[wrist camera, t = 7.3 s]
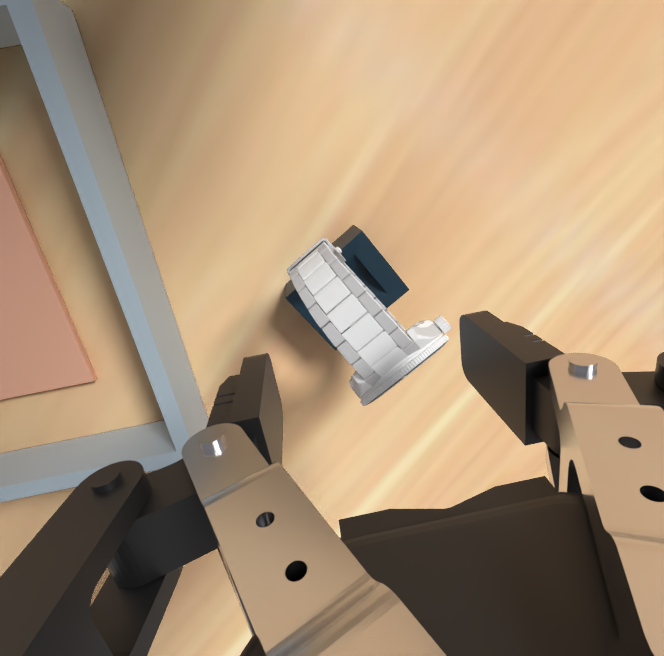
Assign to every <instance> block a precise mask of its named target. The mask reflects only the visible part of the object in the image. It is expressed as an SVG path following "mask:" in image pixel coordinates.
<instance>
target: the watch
mask: <svg viewBox="0 0 664 656" xmlns="http://www.w3.org/2000/svg"><path fill="white" fill-rule="evenodd" d="M287 273H288V274H289V275H290V279H291V280H290V281H289V282H288V283H287V284H286V296H285V298H286V299H287V300H288V301H289V302H290V303H291V304H292V305H293V306H294V307H295V308H296V310H297V311H298V312H299V313H300V314H301V315H302V316H303V317H304V318H305V319H306V320H307V321H308V322H309V323H310V324H311V325H312V326H313V327H314V328H315V329H316V331H317V332H318V333H319V334H320V335H321V336H322V337H323V338H324V339H325V340H326V341H327V342H328V343H329V344H330V345H331V346H332V347H333V348H334V349H335V350H337V349H338V350H339V352H340V353H341V354H342V355H343V356H344V358H345V359H346V360H347V361H348V362H349V363H350V365H351V364H352V366H353V367H354V369H355V370H356V372H355V373H354V374H353V375H352V376H351V377H352V378H351V380H350V385H351V388H352V389H353V391H354V392H355V393H356V395H357V396H358V397H359V398H360V399H361V401H360V402H361V404H362V405H363V406H365V405H367V404H369V403H371V402H373V401H375V400H376V399H378V398H379V397H380V396H382V395H383V394H384V393H386V392H387V391H388V390H390V389H391V388H392V387H394V386H395V385H396V384H397V383H399V382H400V381H401V380H403V379H404V378H405V377H406V376H408V375H409V374H410V373H412V372H413V371H414V370H415V369H417V368H418V367H419V366H420V365H422V364H423V363H424V362H425V361H427V360H428V359H429V358H430V357H431V356H433V355H434V354H435V353H436V352H437V351H439V350H440V349H441V348H442V347H443V345H444V344H445V343H446V342H447V341H448V339H449V338H448V337H447V335H443V334H442V332H443V333H444V334H445V333H447V332H448V331H449V330H451V327H450V325H449V324H448V322H447V321H446V320H445V319H444V318H443V317H442V316H439V317H438V318H436V319H435V320H434V323H435V324H434V323H433V322H431V321H430V320H425V321H421V322H418V323H416V324H415V325H413V326H412V327H410V328H409V329H407V330H405V329H404V328H403V327H402V326H401V325H400V324H399V322H398V321H397V320H396V319H395V318H394V316H393V315H392V314H391V313H390V312H389V311H388V310H387V308H388V307H389V306H390V305H391V304H393V303H394V302H395V301H396V300H397V299H399V298H400V297H401V296H402V295H403V294H405V293H406V292H407V291H408V290H409V289H408V287H407V286H406V285H405V284H404V282H403V281H402V280H401V279H400V277H399V276H398V275H397V274H396V272H395V271H394V270H393V269H392V267H391V266H390V265H389V264H388V262H387V261H386V260H385V259H384V258H383V256H382V255H381V254H380V253H379V251H378V250H377V249H376V248H375V246H374V245H373V244H372V243H371V241H370V240H369V239H368V238H367V236H366V235H365V234H364V233H363V231H361V230H360V229H359V228H357V227H356V226H354V225H353V226H352V227H350V228H349V229H348V230H347V231H346V232H345V233H344V234H342V235H341V236H340V237H339V238H338V239H337V240H336V241H334V242H333V243H332V244H331V243H330V242H329V241H328V240H327V239H326V238H322V239H321V240H320V241H318V242H317V243H316V244H315V245H314V246H313V247H311V248H310V249H309V250H308V251H307V252H306V253H305V254H303V255H302V256H301V257H300V258H299V259H298V260H297V261H296V262H295V263H294V264H292V265H291V266H290V267H289V268H288V269H287Z"/></svg>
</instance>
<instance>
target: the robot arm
mask: <svg viewBox="0 0 664 656" xmlns="http://www.w3.org/2000/svg"><path fill="white" fill-rule="evenodd" d="M460 342H461V360H462V367H463V371H464V374H465V376H466V378H467V380H468V381H469V382H470V383H471V384H472V386H473V387H474V388H475V389H476V390H477V391H478V392H479V394H480V395H481V396H482V397H483V398H484V399H485V400H486V402H487V403H488V404H489V405H490V406H491V407H492V408H493V410H494V411H495V412H496V413H497V414H498V415H499V416H500V417H501V419H502V420H503V421H504V422H505V423H506V424H507V425H508V427H509V428H510V429H511V430H512V431H513V432H514V433H515V435H516V436H517V437H518V438H519V439H520V440H521V441H522V442H523V444H524V445H530V444H535V443H539V442H545V443H546V463H547V469H548V474H549V480H550V482H549V480H548V479H547V478H546V477H545V476H543V477H538V478H534V479H529V480H524V481H519V482H515V483H510V484H505V485H501V486H496V487H493V488H491V489H489V490H487V491H485V492H483V493H481V494H478V495H476V496H474V497H472V498H470V499H468V500H466V501H464V502H462V503H460V504H457V505H455V506H453V507H451V508H447V509H388V510H383V511H378V512H374V513H369V514H364V515H360V516H355V517H350V518H345V519H341V520H339V525H340V532H341V538H339V537H338V535H337V534H336V533H335V532H334V530H333V529H332V528H331V527H330V525H329V524H328V523H327V522H326V520H325V519H324V518H323V517H322V515H321V514H320V513H319V512H318V510H317V509H316V508H315V507H314V505H313V504H312V503H311V502H310V500H309V499H308V498H307V497H306V495H305V494H304V493H303V492H302V490H301V489H300V488H299V487H298V485H297V484H296V483H295V482H294V480H293V479H292V478H291V476H290V475H289V474H288V473H287V471H286V470H285V469H284V468H283V466H282V440H283V411H282V404H281V399H280V395H279V391H278V387H277V383H276V379H275V375H274V371H273V367H272V363H271V360H270V357H269V354H268V353H266V354H261V355H256V356H251V357H246V358H244V359H243V363H242V367H241V371H240V375H235V376H230V377H228V378H227V379H226V380H225V382H224V383H223V384H222V385H221V386H220V387H219V390H218V393H217V396H216V397H217V398H216V399H215V402H214V406H213V408H212V411H211V414H210V417H209V420H208V423H207V426H206V428H205V429H203V430H201V431H199V432H197V433H196V434H194V435H193V436H192V437H191V438H190V439H188V440H187V442H186V443H185V444H184V446H183V448H182V452H181V454H182V457H183V458H182V459H181V460H179V461H177V462H175V463H173V464H171V465H168V466H166V467H163V468H161V469H158V470H156V471H153V472H151V473H149V474H146V473H145V471H144V468H143V466H142V465H141V463H139V462H137V461H132V460H126V461H120V462H116V463H113V464H110V465H108V466H105V467H103V468H101V469H99V470H97V471H96V472H94V473H93V474H91V475H90V476H88V477H87V478H86V479H85V480H83V481H82V482H81V483H80V484H79V485H78V486H77V487H76V489H75V490H74V491H73V492H72V493H71V495H70V496H69V497H68V498H67V499H66V500H65V502H64V503H63V504H62V505H61V506H60V507H59V509H58V510H57V511H56V512H55V513H54V515H53V516H52V517H51V518H50V519H49V520H48V522H47V523H46V524H45V525H44V526H43V528H42V529H41V530H40V531H39V532H38V533H37V535H36V536H35V537H34V538H33V539H32V541H31V542H30V543H29V544H28V545H27V546H26V548H25V549H24V550H23V551H22V552H21V554H20V555H19V556H18V557H17V558H16V559H15V561H14V562H13V563H12V564H11V565H10V567H9V568H8V569H7V570H6V571H5V572H4V574H3V575H2V576H1V577H0V656H147V654H148V652H149V649H150V647H151V645H152V642H153V640H154V637H155V635H156V633H157V630H158V628H159V625H160V623H161V620H162V618H163V616H164V613H165V611H166V608H167V606H168V603H169V601H170V599H171V596H172V594H173V591H174V589H175V586H176V584H177V582H178V579H179V577H180V574H181V571H182V567H183V565H185V564H187V563H189V562H191V561H193V560H195V559H197V558H199V557H201V556H203V555H205V554H207V553H209V552H211V551H213V550H215V549H217V550H218V552H219V554H220V557H221V559H222V562H223V564H224V567H225V569H226V572H227V574H228V577H229V579H230V582H231V584H232V586H233V589H234V591H235V594H236V596H237V599H238V601H239V604H240V606H241V609H242V611H243V614H244V616H245V619H246V621H247V624H248V627H249V629H250V632H251V634H252V638H251V639H250V641H249V643H248V644H247V646H246V647H245V649H244V650H243V652H242V653H241V655H240V656H664V352H663V353H661V354H659V356H658V357H657V363H656V370H655V371H652V372H621V371H620V369H619V367H618V366H617V365H616V364H615V363H614V362H612V361H611V360H609V359H607V358H604V357H601V356H597V355H593V354H586V353H569V354H564V353H563V352H561V351H560V350H558V349H557V348H555V347H553V346H552V345H550V344H549V343H547V342H546V341H542V339H541V338H539V337H538V336H536V335H533V333H532V332H530V331H528V330H527V329H525V328H524V327H522V326H519V325H515V324H512V323H508V322H503V321H501V320H500V319H499V318H497V317H496V316H494V315H493V314H491V313H490V312H488V311H481V312H476V313H471V314H465V315H462V316H461V317H460ZM106 568H108V570H109V572H110V575H109V576H108V578H107V580H106V581H105V583H104V585H103V587H102V588H101V590H100V592H99V593H98V595H97V597H96V598H95V600H94V602H93V604H92V605H91V607H90V603H91V598H92V594H93V591H94V589H95V587H96V585H97V583H98V581H99V580H100V578H101V576H102V575H103V573H104V571H105V570H106Z"/></svg>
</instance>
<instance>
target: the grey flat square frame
mask: <svg viewBox="0 0 664 656" xmlns="http://www.w3.org/2000/svg"><path fill="white" fill-rule="evenodd" d="M15 45H22V47H23V50H24V52H25V55H26V58H27V60H28V63H29V66H30V68H31V71H32V73H33V76H34V79H35V81H36V84H37V87H38V89H39V92H40V94H41V97H42V100H43V102H44V105H45V108H46V110H47V113H48V116H49V118H50V121H51V123H52V126H53V129H54V131H55V134H56V137H57V139H58V142H59V144H60V147H61V150H62V152H63V155H64V158H65V160H66V163H67V165H68V168H69V171H70V173H71V176H72V179H73V181H74V184H75V186H76V189H77V192H78V194H79V197H80V200H81V202H82V205H83V207H84V210H85V213H86V215H87V218H88V221H89V223H90V226H91V228H92V231H93V234H94V236H95V239H96V242H97V244H98V247H99V250H100V252H101V255H102V257H103V260H104V263H105V265H106V268H107V271H108V273H109V276H110V278H111V281H112V284H113V286H114V289H115V292H116V294H117V297H118V299H119V302H120V305H121V307H122V310H123V313H124V315H125V318H126V320H127V323H128V326H129V328H130V331H131V334H132V336H133V339H134V341H135V344H136V347H137V349H138V352H139V355H140V357H141V360H142V362H143V365H144V368H145V370H146V373H147V376H148V378H149V381H150V383H151V386H152V389H153V391H154V394H155V397H156V399H157V402H158V405H159V407H160V410H161V412H162V415H163V418H164V421H159V422H154V423H149V424H144V425H139V426H134V427H129V428H124V429H119V430H114V431H109V432H104V433H99V434H94V435H90V436H85V437H80V438H75V439H70V440H65V441H60V442H55V443H50V444H45V445H40V446H35V447H30V448H25V449H20V450H16V451H11V452H6V453H1V454H0V502H5V501H10V500H15V499H19V498H24V497H29V496H34V495H39V494H44V493H49V492H53V491H58V490H63V489H68V488H73V487H77V486H78V485H79V484H80V483H81V482H82V481H83V480H85V479H86V478H87V477H88V476H90V475H91V474H93V473H94V472H96V471H97V470H99V469H101V468H103V467H105V466H108V465H110V464H113V463H116V462H120V461H126V460H132V461H137V462H139V463H141V465H142V466H143V468H144V471H145V472H150V471H155V470H158V469H161V468H163V467H166V466H168V465H171V464H173V463H175V462H177V461H179V460H181V459H182V458H183V457H182V454H181V452H182V448H183V446H184V444H185V443H186V442H187V440H188V439H190V438H191V437H192V436H193V435H194V434H196V433H197V432H199V431H201V430H203V429H205V428H206V426H207V423H208V420H209V419H208V416H207V413H206V410H205V407H204V404H203V401H202V398H201V395H200V392H199V389H198V386H197V383H196V380H195V377H194V374H193V371H192V368H191V365H190V362H189V359H188V356H187V353H186V350H185V347H184V344H183V341H182V338H181V335H180V332H179V329H178V326H177V323H176V320H175V317H174V314H173V311H172V308H171V305H170V302H169V299H168V296H167V293H166V290H165V287H164V284H163V281H162V278H161V275H160V272H159V269H158V266H157V263H156V260H155V257H154V254H153V251H152V248H151V245H150V242H149V239H148V236H147V233H146V230H145V227H144V224H143V221H142V218H141V215H140V212H139V209H138V206H137V203H136V200H135V197H134V194H133V191H132V188H131V185H130V182H129V179H128V176H127V173H126V170H125V167H124V164H123V161H122V158H121V155H120V152H119V149H118V146H117V143H116V140H115V137H114V134H113V131H112V128H111V125H110V122H109V119H108V116H107V113H106V110H105V107H104V104H103V101H102V98H101V95H100V92H99V89H98V86H97V83H96V80H95V77H94V74H93V71H92V68H91V65H90V62H89V59H88V56H87V53H86V50H85V47H84V44H83V41H82V38H81V35H80V32H79V29H78V26H77V23H76V20H75V17H74V14H73V11H72V10H71V9H70V8H69V7H68V6H66V5H65V4H64V3H62V2H61V1H60V0H0V48H3V47H9V46H15Z"/></svg>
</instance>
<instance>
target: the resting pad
mask: <svg viewBox="0 0 664 656" xmlns="http://www.w3.org/2000/svg"><path fill="white" fill-rule="evenodd" d="M96 379H97V378H96V375H95V373H94V371H93V368H92V366H91V364H90V361H89V359H88V357H87V354H86V352H85V350H84V348H83V345H82V343H81V341H80V338H79V336H78V334H77V331H76V329H75V327H74V324H73V322H72V320H71V318H70V315H69V313H68V311H67V308H66V306H65V304H64V301H63V299H62V297H61V294H60V292H59V290H58V288H57V285H56V283H55V281H54V278H53V276H52V274H51V271H50V269H49V267H48V264H47V262H46V260H45V258H44V255H43V253H42V251H41V248H40V246H39V244H38V241H37V239H36V237H35V234H34V232H33V230H32V228H31V225H30V223H29V221H28V218H27V216H26V214H25V211H24V209H23V207H22V204H21V202H20V200H19V198H18V195H17V193H16V191H15V188H14V186H13V184H12V181H11V179H10V177H9V174H8V172H7V170H6V168H5V165H4V163H3V161H2V158H1V156H0V400H2V399H7V398H12V397H17V396H22V395H27V394H32V393H37V392H42V391H47V390H52V389H57V388H62V387H67V386H72V385H77V384H82V383H88V382H93V381H95V380H96Z"/></svg>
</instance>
